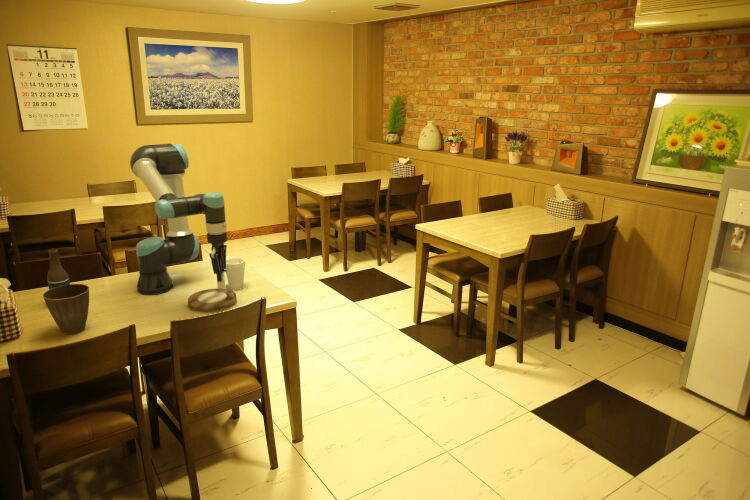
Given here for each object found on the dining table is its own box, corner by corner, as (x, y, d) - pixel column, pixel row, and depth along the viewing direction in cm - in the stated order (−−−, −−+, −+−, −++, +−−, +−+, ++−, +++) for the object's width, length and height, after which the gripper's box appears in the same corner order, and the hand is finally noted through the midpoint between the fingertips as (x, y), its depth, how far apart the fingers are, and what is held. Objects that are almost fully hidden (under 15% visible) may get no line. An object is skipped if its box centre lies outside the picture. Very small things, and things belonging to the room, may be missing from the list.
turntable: (179, 309, 212) (178, 292, 209) (199, 290, 231) (197, 275, 228) (227, 311, 210) (225, 294, 208) (242, 292, 229) (241, 277, 227)
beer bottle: (53, 301, 220) (43, 248, 213) (74, 298, 223) (64, 246, 216) (50, 308, 213) (40, 253, 206) (71, 305, 216) (62, 251, 209)
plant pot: (58, 343, 185) (50, 302, 180) (44, 330, 194) (36, 291, 190) (101, 329, 196) (95, 291, 191) (86, 318, 205) (80, 280, 200)
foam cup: (241, 292, 233) (239, 265, 229) (222, 290, 235) (220, 263, 231) (249, 284, 242) (248, 258, 238) (231, 282, 244) (229, 256, 240)
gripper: (219, 237, 196) (224, 294, 203) (231, 228, 208) (235, 282, 215) (200, 236, 196) (206, 293, 203) (213, 227, 209) (218, 281, 216)
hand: (221, 287), depth 209 cm, fingers closed
